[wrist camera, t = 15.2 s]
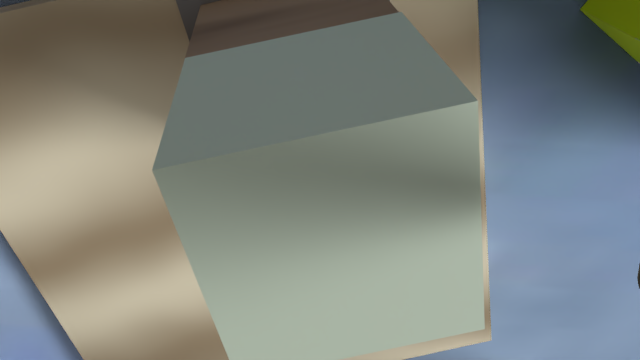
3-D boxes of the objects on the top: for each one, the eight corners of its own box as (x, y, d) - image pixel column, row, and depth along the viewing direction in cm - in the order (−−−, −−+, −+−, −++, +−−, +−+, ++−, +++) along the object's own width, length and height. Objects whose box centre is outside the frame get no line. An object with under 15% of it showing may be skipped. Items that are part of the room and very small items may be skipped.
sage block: (419, 192, 15) (484, 329, 11) (241, 229, 15) (237, 380, 11) (401, 11, 13) (478, 101, 8) (184, 57, 13) (152, 170, 8)
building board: (483, 324, 27) (491, 341, 26) (126, 402, 27) (122, 421, 27) (462, -99, 17) (474, -96, 16) (-103, 31, 17) (-123, 41, 16)
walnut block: (383, 114, 19) (420, 192, 15) (244, 146, 20) (242, 232, 15) (361, -32, 17) (399, 12, 13) (200, 5, 17) (183, 61, 13)
